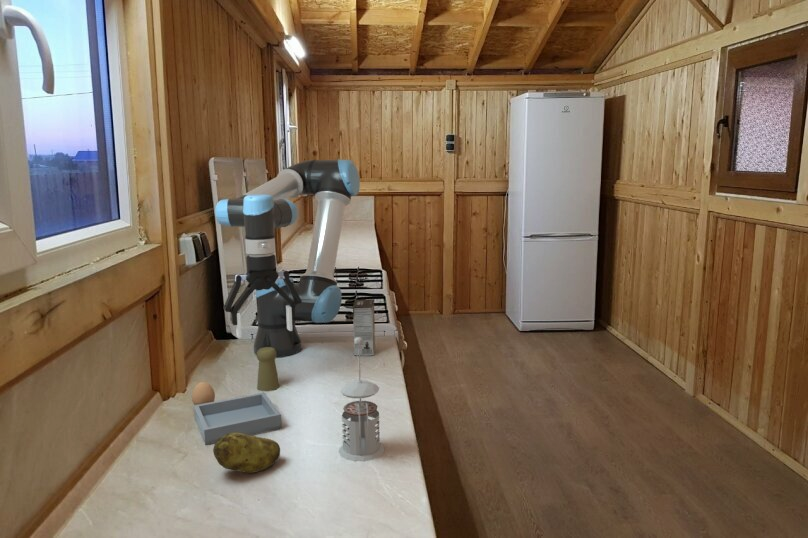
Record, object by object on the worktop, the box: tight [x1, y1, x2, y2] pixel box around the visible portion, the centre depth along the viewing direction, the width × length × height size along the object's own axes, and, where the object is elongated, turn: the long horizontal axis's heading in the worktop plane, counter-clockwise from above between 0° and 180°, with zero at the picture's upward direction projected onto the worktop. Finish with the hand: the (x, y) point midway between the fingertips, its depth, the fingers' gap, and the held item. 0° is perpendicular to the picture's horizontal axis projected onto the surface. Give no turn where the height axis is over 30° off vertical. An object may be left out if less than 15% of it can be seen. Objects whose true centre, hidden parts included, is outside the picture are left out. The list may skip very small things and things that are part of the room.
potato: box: [212, 433, 281, 474], centre depth 123 cm, size 8×13×8 cm, turn 104°
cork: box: [256, 347, 281, 392], centre depth 166 cm, size 6×6×11 cm
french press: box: [338, 337, 385, 462], centre depth 128 cm, size 10×12×25 cm
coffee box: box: [352, 299, 376, 356], centre depth 194 cm, size 9×6×16 cm
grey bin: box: [193, 392, 283, 446], centre depth 144 cm, size 17×15×4 cm
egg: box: [191, 381, 216, 406], centre depth 153 cm, size 5×5×7 cm
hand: (264, 333), depth 164 cm, fingers open, 13 cm apart
